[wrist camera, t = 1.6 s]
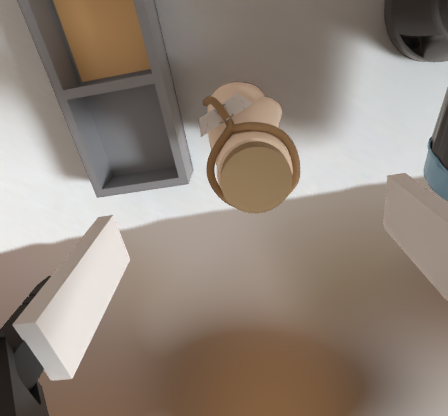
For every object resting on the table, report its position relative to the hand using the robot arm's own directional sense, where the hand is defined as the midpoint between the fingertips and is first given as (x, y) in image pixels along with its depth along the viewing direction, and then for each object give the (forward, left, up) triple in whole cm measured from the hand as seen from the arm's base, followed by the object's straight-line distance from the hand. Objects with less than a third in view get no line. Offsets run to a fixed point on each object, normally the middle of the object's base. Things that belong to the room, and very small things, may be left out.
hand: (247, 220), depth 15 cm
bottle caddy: (+16, -6, -34) cm, 38 cm away
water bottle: (0, 0, -34) cm, 34 cm away
